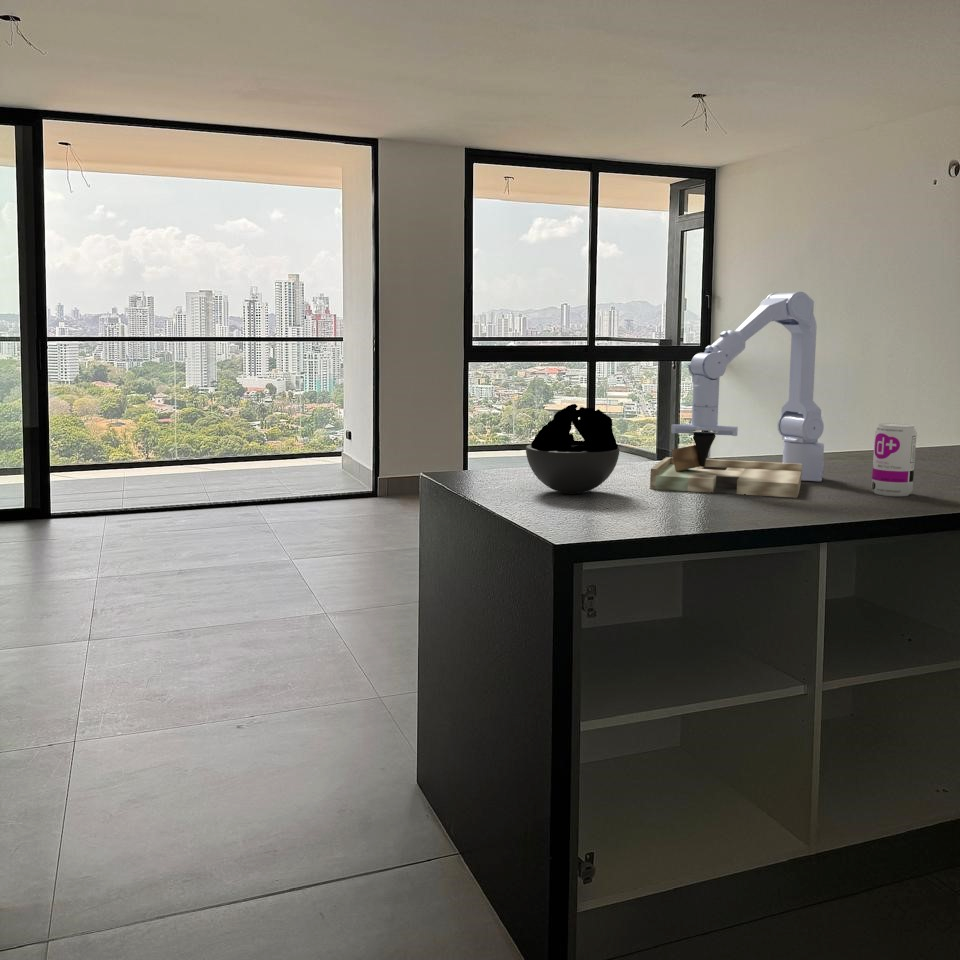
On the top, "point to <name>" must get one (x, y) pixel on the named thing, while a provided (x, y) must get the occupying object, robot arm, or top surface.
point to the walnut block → (686, 458)
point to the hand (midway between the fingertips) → (702, 466)
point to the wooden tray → (730, 477)
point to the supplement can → (894, 459)
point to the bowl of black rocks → (574, 451)
